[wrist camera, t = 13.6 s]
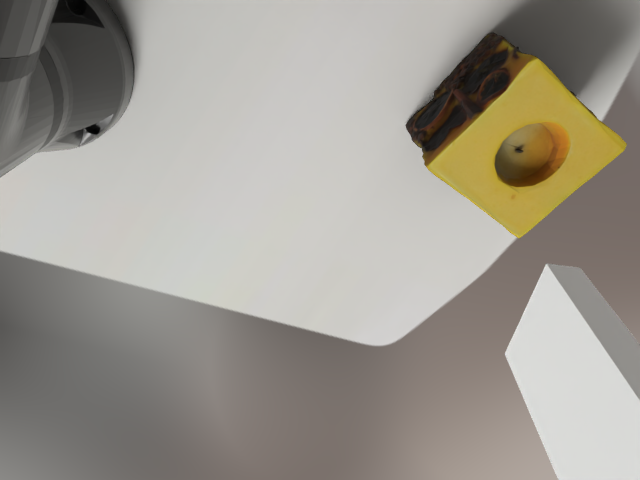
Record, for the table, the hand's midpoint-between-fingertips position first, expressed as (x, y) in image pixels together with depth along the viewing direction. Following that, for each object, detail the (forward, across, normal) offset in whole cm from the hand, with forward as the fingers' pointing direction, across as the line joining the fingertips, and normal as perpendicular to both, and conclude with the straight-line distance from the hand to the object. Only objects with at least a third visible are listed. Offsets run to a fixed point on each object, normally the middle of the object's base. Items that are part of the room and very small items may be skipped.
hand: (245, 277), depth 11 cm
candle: (+33, +16, -4) cm, 37 cm away
